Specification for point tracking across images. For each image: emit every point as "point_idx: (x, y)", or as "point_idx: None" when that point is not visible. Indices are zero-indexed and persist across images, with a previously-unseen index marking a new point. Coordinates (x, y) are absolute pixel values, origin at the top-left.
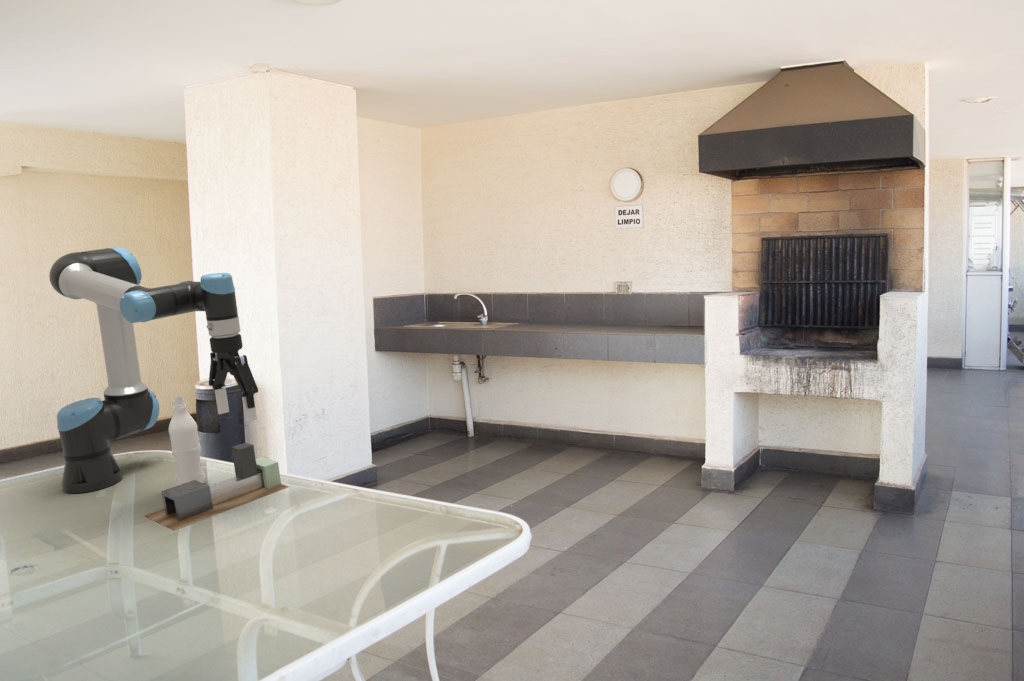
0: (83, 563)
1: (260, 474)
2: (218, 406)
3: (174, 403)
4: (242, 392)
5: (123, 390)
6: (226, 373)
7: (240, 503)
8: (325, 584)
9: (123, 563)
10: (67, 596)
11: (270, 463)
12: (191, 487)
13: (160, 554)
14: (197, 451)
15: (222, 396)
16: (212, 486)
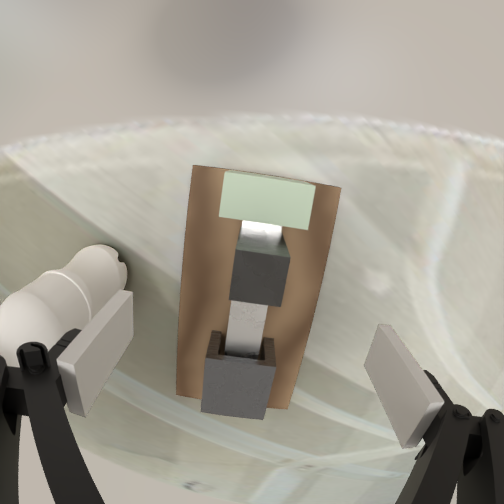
0: (247, 470)
1: None
2: (119, 357)
3: None
4: (416, 461)
5: None
6: (97, 491)
7: (308, 300)
8: None
9: (297, 458)
10: (306, 492)
11: (302, 202)
12: (244, 385)
13: (324, 435)
14: (91, 295)
15: (98, 360)
16: (238, 329)
